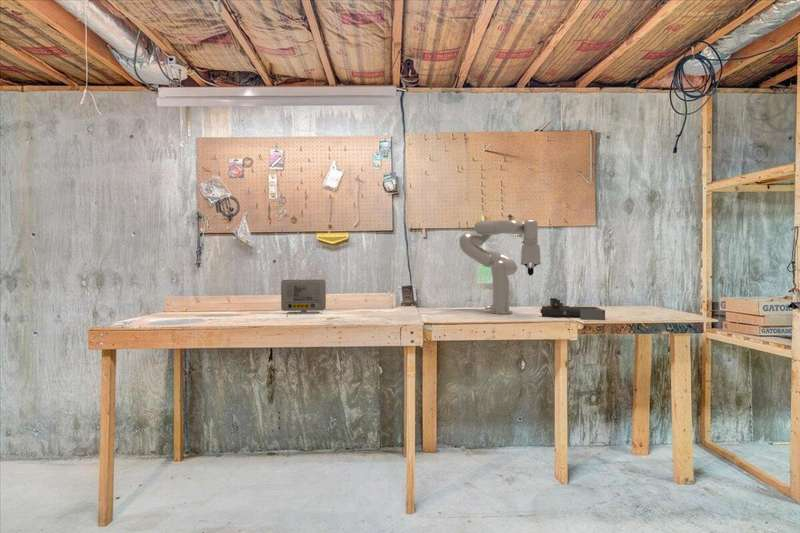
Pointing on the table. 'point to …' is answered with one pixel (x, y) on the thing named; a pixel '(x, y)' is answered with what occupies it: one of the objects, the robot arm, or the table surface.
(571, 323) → the table surface
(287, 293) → the network device
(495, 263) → the robot arm
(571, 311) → the laser sight
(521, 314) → the table surface
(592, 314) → the dock
